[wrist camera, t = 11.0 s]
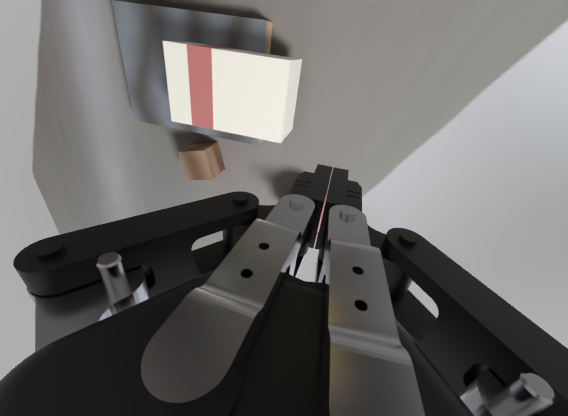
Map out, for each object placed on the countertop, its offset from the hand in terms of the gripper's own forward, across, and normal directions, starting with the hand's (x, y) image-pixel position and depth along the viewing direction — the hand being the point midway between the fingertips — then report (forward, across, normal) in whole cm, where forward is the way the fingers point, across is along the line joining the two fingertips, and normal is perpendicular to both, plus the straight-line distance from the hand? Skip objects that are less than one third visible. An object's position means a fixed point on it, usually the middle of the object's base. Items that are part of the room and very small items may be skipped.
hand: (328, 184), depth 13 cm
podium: (+29, +23, 0) cm, 37 cm away
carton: (+22, +7, 0) cm, 23 cm away
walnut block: (+29, +22, +13) cm, 39 cm away
